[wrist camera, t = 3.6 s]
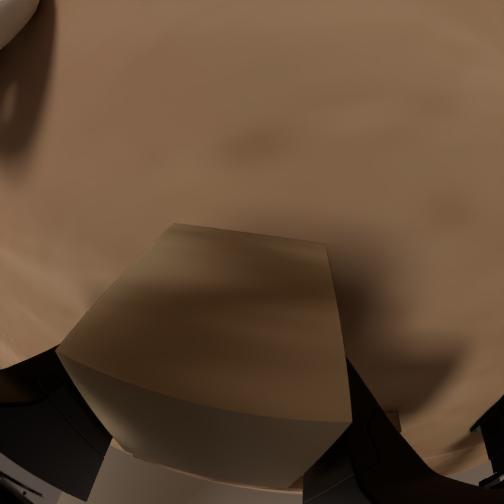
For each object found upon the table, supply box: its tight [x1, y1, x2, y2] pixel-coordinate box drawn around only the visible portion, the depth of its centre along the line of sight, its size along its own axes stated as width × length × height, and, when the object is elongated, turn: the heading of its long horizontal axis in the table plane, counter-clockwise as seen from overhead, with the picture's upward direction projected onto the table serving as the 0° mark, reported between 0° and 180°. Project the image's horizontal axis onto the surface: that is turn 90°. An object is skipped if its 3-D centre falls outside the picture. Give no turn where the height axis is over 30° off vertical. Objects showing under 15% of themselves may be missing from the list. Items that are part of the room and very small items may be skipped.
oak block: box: [55, 223, 352, 488], centre depth 7 cm, size 5×5×6 cm
